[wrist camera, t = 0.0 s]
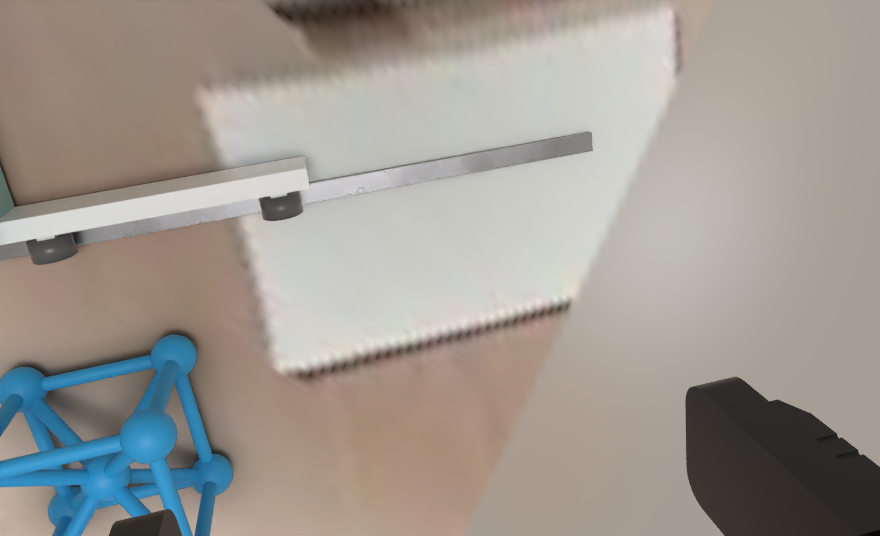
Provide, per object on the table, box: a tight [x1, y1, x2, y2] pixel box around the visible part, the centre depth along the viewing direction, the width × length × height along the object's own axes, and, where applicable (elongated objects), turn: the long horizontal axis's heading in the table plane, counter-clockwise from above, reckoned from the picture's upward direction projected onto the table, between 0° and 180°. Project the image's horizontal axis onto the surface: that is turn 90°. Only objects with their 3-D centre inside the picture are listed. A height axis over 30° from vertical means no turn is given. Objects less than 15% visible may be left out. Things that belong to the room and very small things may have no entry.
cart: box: [0, 156, 310, 265], centre depth 31 cm, size 15×15×6 cm
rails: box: [0, 132, 593, 261], centre depth 35 cm, size 15×32×1 cm, turn 98°
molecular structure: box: [0, 334, 233, 536], centre depth 36 cm, size 10×10×10 cm
